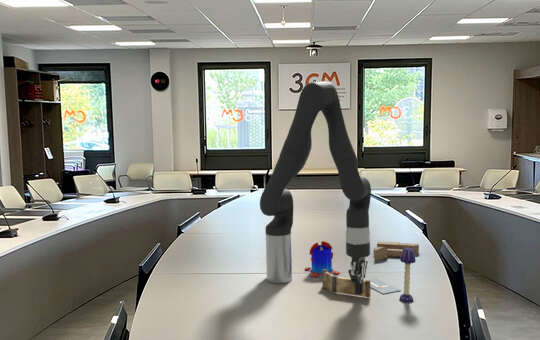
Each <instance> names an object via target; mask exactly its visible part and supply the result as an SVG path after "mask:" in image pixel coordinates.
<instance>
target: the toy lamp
mask: <svg viewBox="0 0 540 340" xmlns="http://www.w3.org/2000/svg"><path fill="white" fill-rule="evenodd" d="M399 258H400V262H401V263H404V281H403V289H404V290H403V293H402V294H401V295H400V296H399V301H401V302H404V303H412V302H414V297H413V296H412V295H411V294H410V284H411V282H410V280H411V277H410V276H411V264H414V263H416V256H415V255H414V251H413V249H412V248H404V249H403V252H402V255H401V257H399Z"/></svg>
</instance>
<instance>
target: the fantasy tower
mask: <svg viewBox="0 0 540 340" xmlns="http://www.w3.org/2000/svg"><path fill="white" fill-rule="evenodd" d="M332 250H333V246H332V245H331V243H330V242H328V241H323V240H322V241H321V242H320V244H319V242H315V243H314V244H312V245H311V246H310V249H309V255H310V256H311V258H310V260H311V267H305V268H304V269H303V271H304V270H305V271H304V272H308V273H309V272H310V273H311V274H310V273H309V274H310V275H311V278H315V279H317V278H320V277H322V270H323V269H327V272H329V273H331V274H332V275H334V276H339V274H340V275H341V272H340V271H337V270H336V271H334V269H333V263H332V262H333V261H332V260H333V257H334V252H333V251H332ZM310 269H311V270H310Z"/></svg>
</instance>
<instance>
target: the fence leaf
mask: <svg viewBox="0 0 540 340" xmlns="http://www.w3.org/2000/svg"><path fill="white" fill-rule="evenodd" d="M332 286H333V292H332V293H338V294H343V295H344V294H345V295H350V296H351V295H352V296H357V297H364V298H371V287H370V280H368V279H364V281H363V293H362V294H361V295H357V294H355V283H353V282H352V281H351V278H350V277H343V276H338V275H334V276H332Z"/></svg>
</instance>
